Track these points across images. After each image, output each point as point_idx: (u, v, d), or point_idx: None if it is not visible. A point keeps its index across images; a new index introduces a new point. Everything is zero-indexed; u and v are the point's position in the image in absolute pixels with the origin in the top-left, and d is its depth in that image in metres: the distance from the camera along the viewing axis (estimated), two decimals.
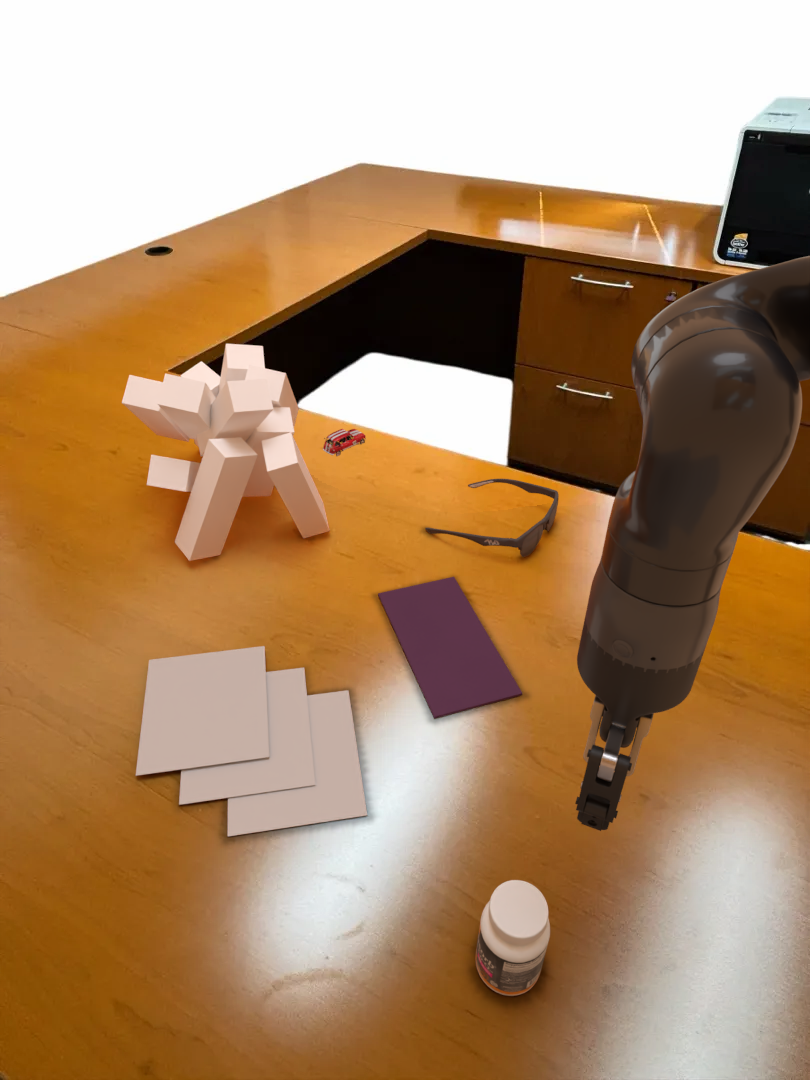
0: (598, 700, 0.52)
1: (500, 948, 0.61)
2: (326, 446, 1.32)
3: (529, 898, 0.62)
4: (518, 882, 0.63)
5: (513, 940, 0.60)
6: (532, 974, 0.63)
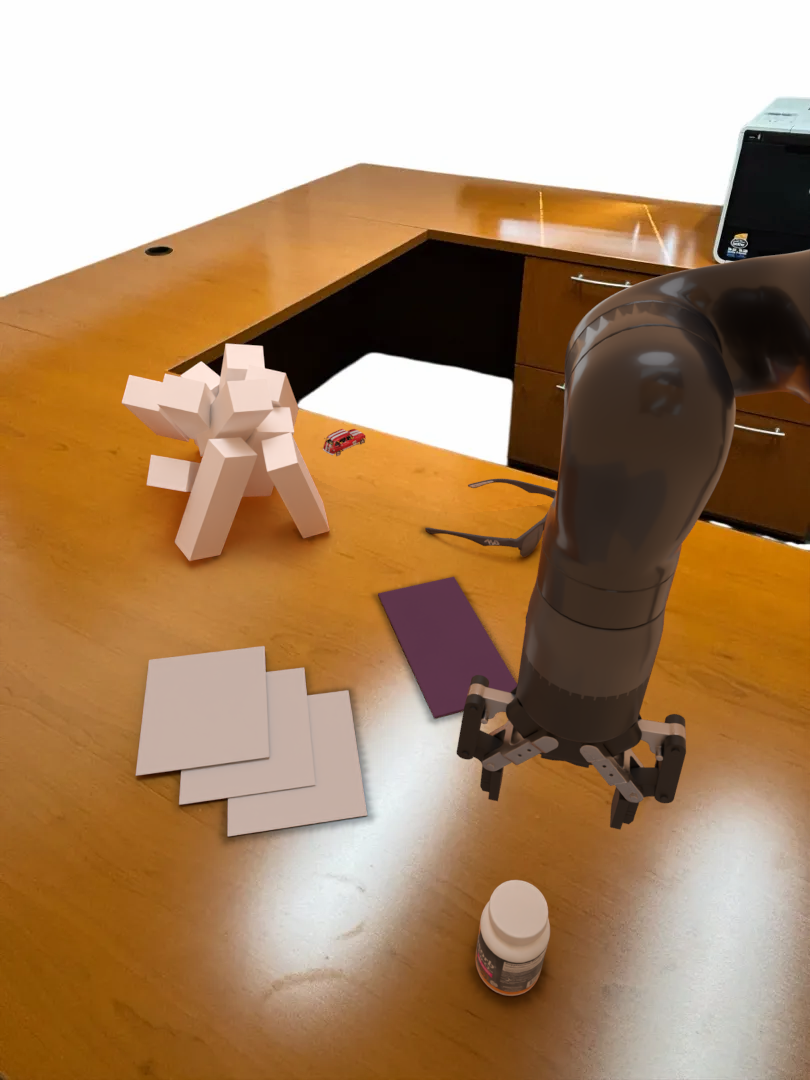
0: None
1: (500, 948, 0.61)
2: (326, 446, 1.32)
3: (529, 898, 0.62)
4: (518, 882, 0.63)
5: (512, 940, 0.60)
6: (532, 974, 0.63)
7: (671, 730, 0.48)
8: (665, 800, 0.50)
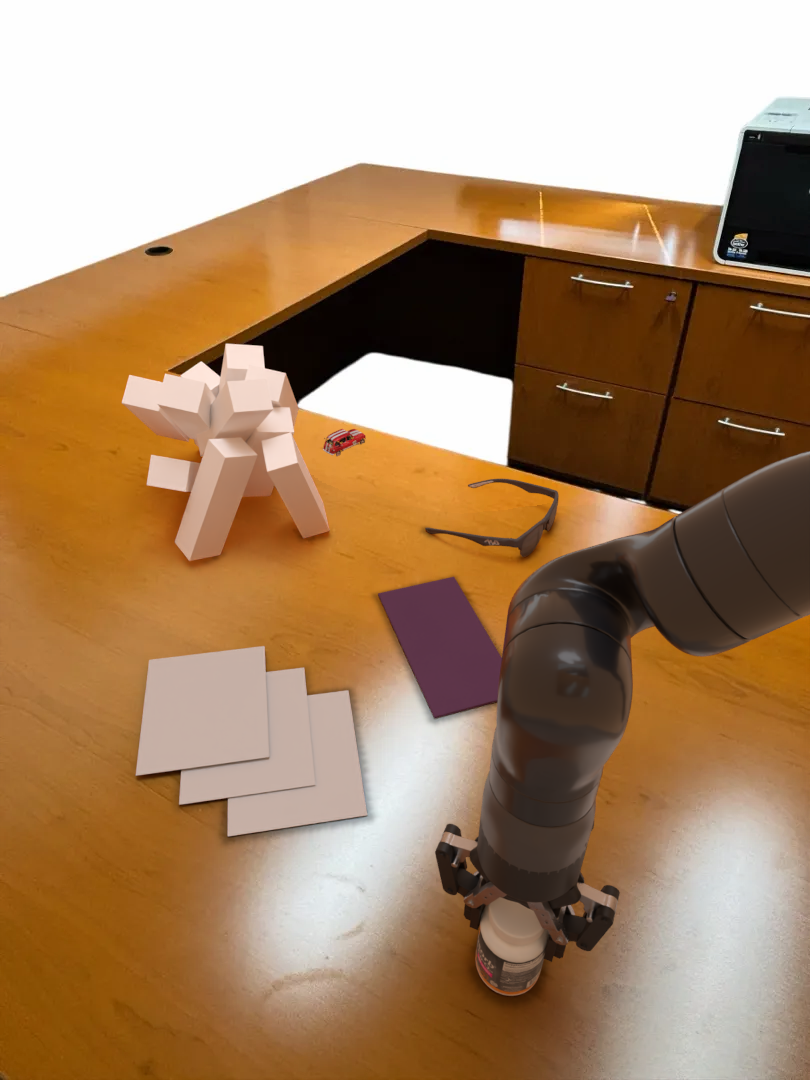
0: None
1: (500, 948, 0.61)
2: (326, 446, 1.32)
3: None
4: None
5: (512, 940, 0.60)
6: (532, 974, 0.63)
7: (606, 901, 0.56)
8: (584, 949, 0.58)
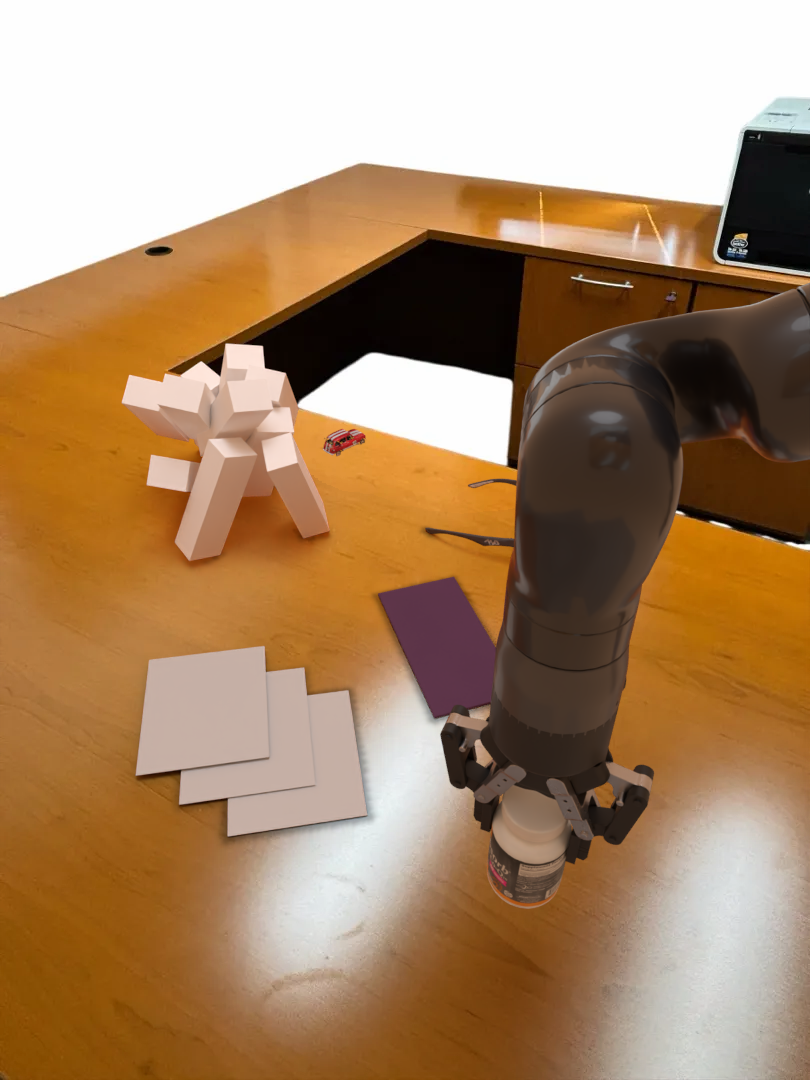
0: None
1: (515, 847, 0.53)
2: (326, 446, 1.32)
3: None
4: None
5: (530, 837, 0.52)
6: (552, 881, 0.56)
7: (639, 781, 0.48)
8: (613, 842, 0.51)
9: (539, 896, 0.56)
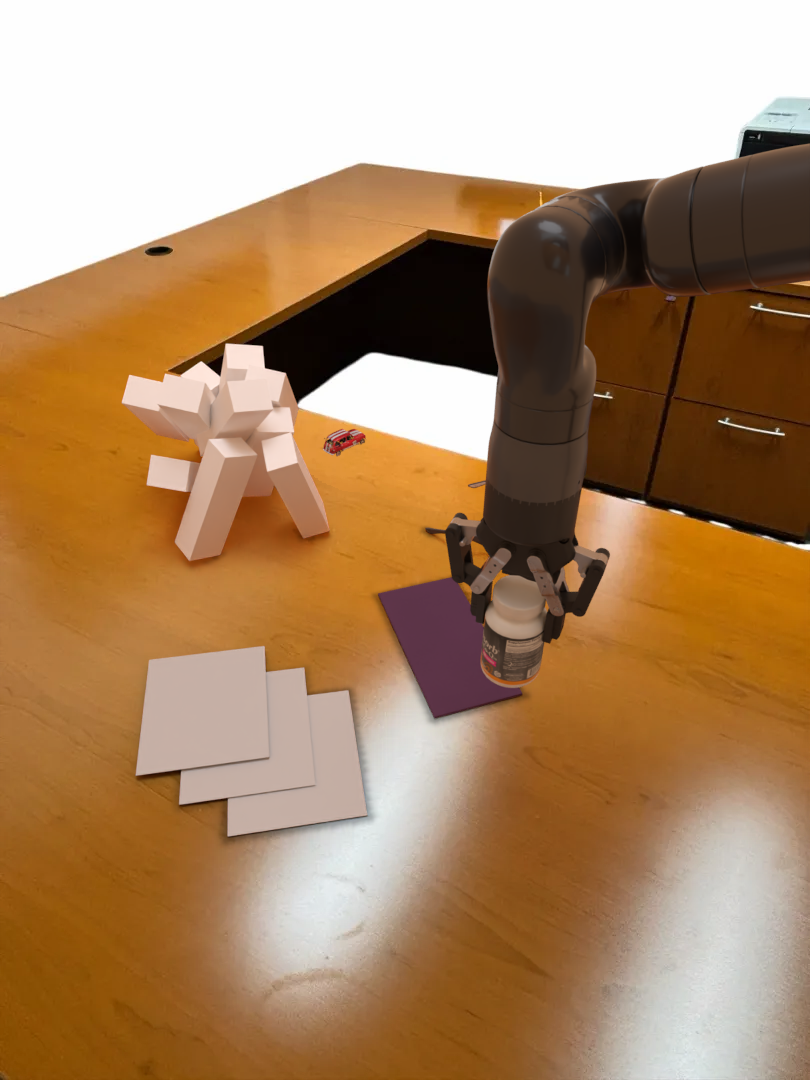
0: None
1: (503, 626, 0.68)
2: (326, 446, 1.32)
3: (529, 585, 0.69)
4: None
5: (514, 614, 0.67)
6: (532, 660, 0.70)
7: (597, 557, 0.63)
8: (578, 613, 0.65)
9: (522, 674, 0.71)
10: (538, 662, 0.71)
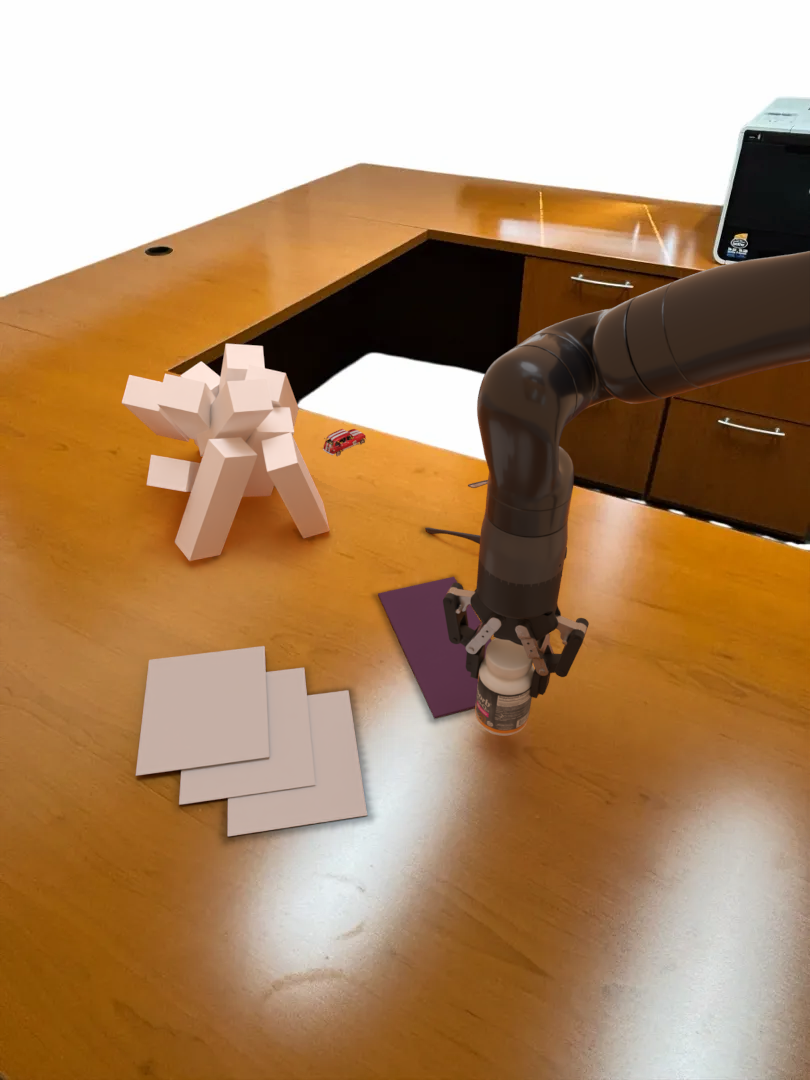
0: None
1: (494, 683, 0.76)
2: (326, 446, 1.32)
3: (518, 646, 0.77)
4: None
5: (504, 673, 0.75)
6: (520, 712, 0.78)
7: (577, 626, 0.71)
8: (561, 674, 0.73)
9: (512, 724, 0.79)
10: (526, 713, 0.79)
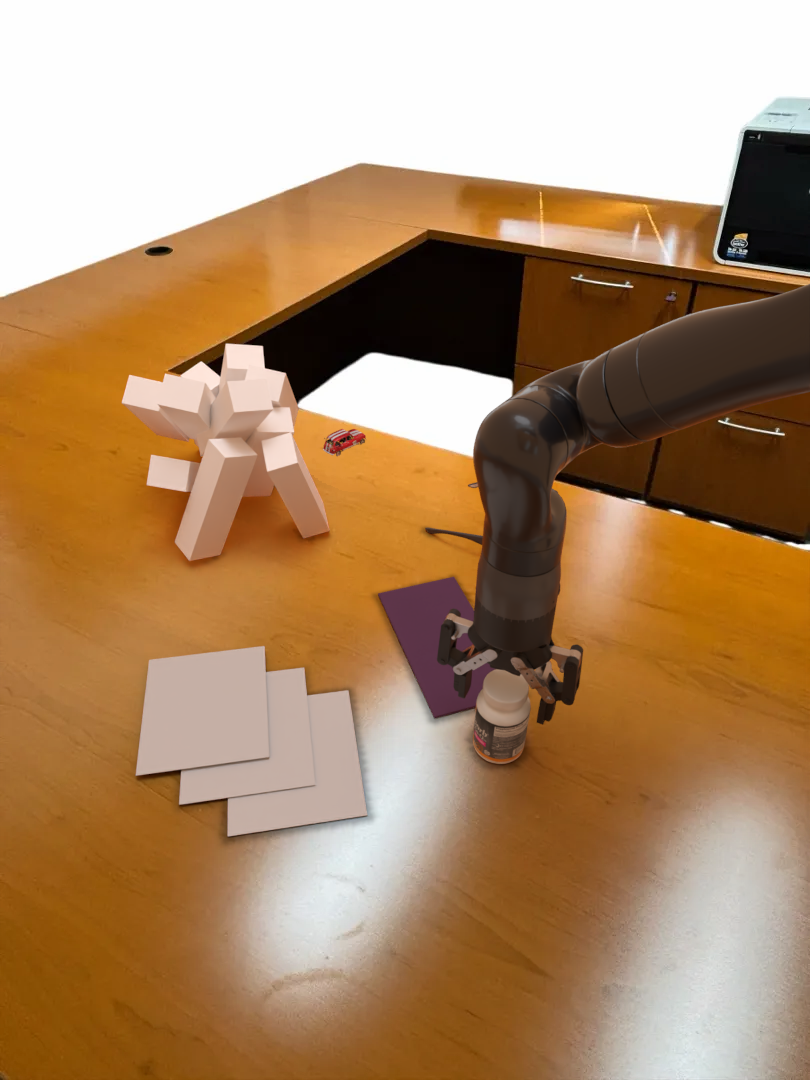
0: None
1: (491, 715, 0.79)
2: (326, 446, 1.32)
3: (514, 679, 0.80)
4: None
5: (501, 706, 0.78)
6: (516, 742, 0.81)
7: (570, 653, 0.73)
8: (567, 702, 0.75)
9: (508, 753, 0.82)
10: (522, 742, 0.82)
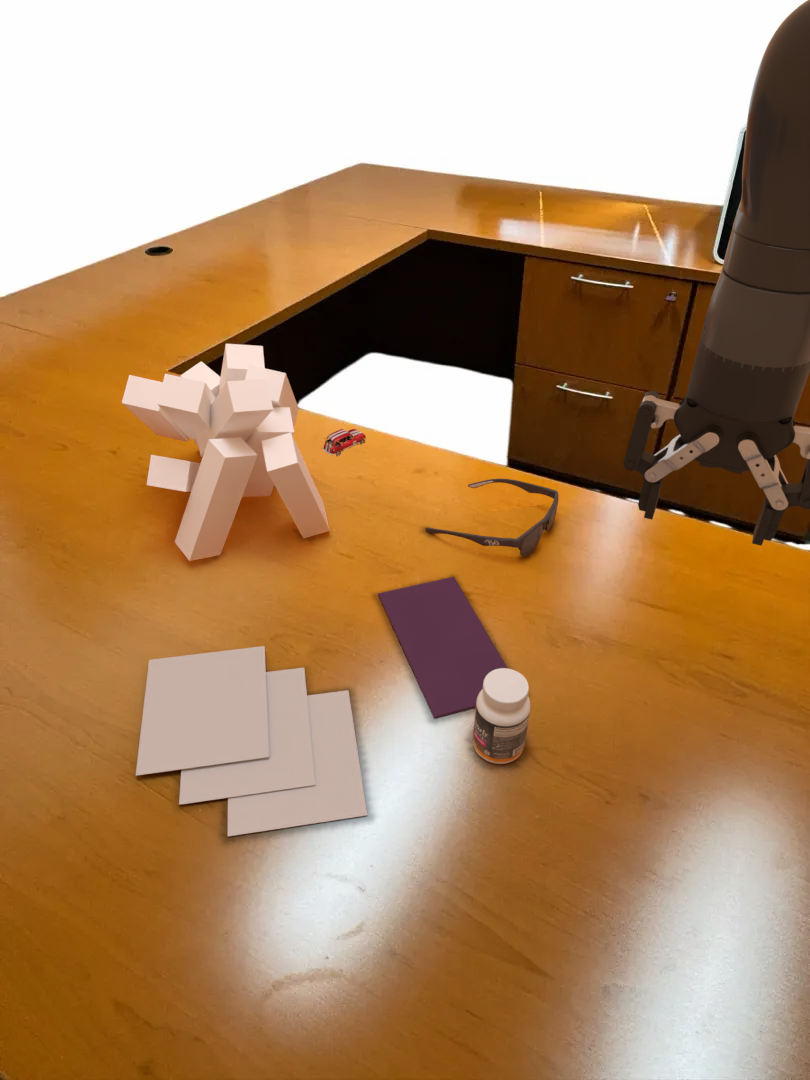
0: None
1: (491, 715, 0.79)
2: (326, 446, 1.32)
3: (514, 679, 0.80)
4: (505, 669, 0.81)
5: (501, 706, 0.78)
6: (516, 742, 0.81)
7: None
8: (808, 504, 0.57)
9: (508, 753, 0.82)
10: (522, 742, 0.82)
